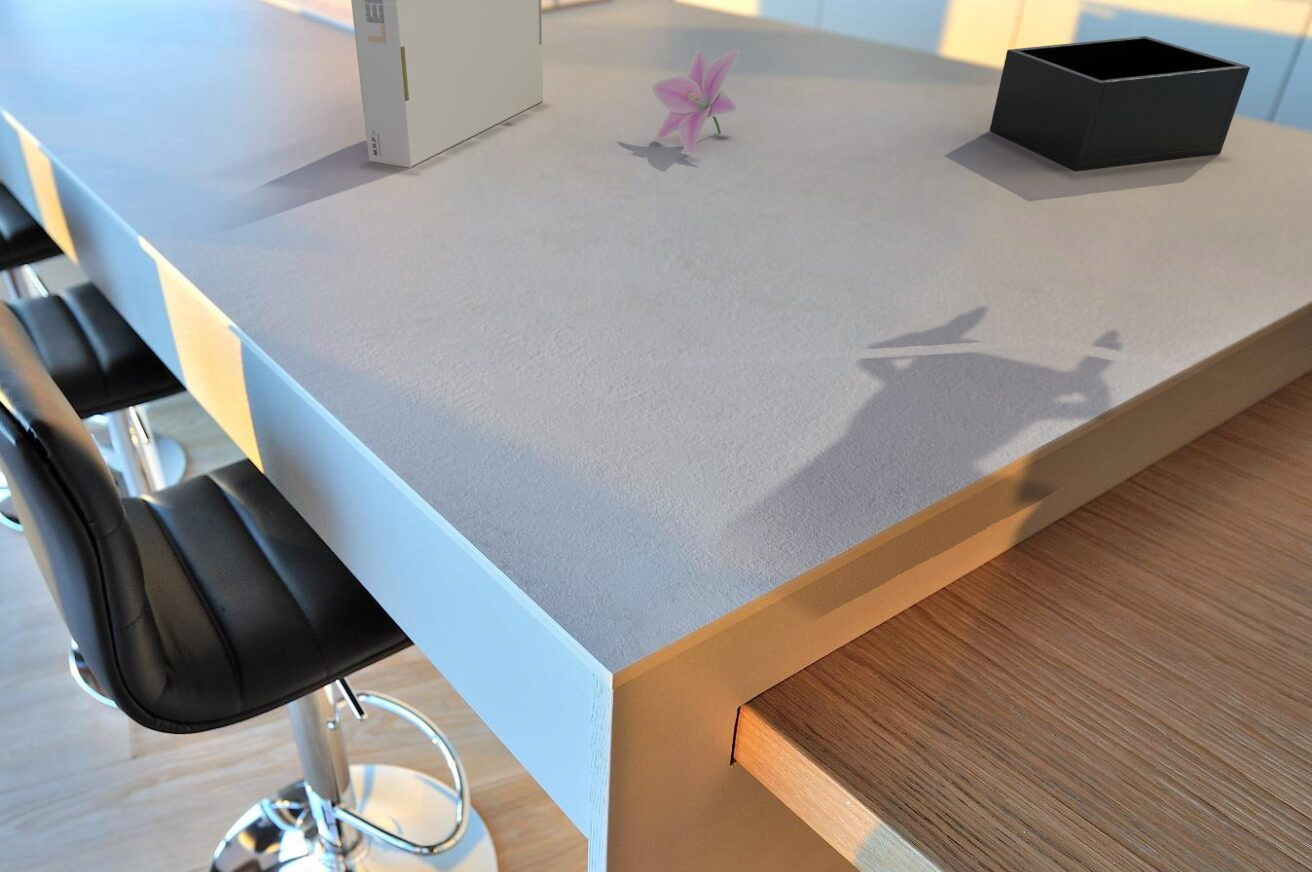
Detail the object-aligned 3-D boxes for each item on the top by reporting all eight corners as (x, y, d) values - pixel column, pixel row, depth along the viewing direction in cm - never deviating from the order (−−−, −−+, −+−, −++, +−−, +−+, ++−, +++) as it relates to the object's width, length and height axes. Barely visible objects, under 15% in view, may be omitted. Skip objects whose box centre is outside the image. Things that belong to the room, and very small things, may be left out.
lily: (650, 132, 133) (627, 68, 125) (741, 88, 131) (723, 20, 123) (678, 192, 126) (655, 128, 118) (774, 147, 124) (757, 78, 116)
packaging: (504, 96, 145) (498, -73, 133) (543, 101, 142) (541, -71, 131) (367, 160, 124) (346, -33, 113) (411, 168, 122) (393, -30, 110)
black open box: (1122, 115, 128) (1145, 35, 123) (1220, 153, 116) (1250, 66, 111) (989, 130, 125) (1007, 49, 120) (1075, 171, 113) (1099, 82, 108)
